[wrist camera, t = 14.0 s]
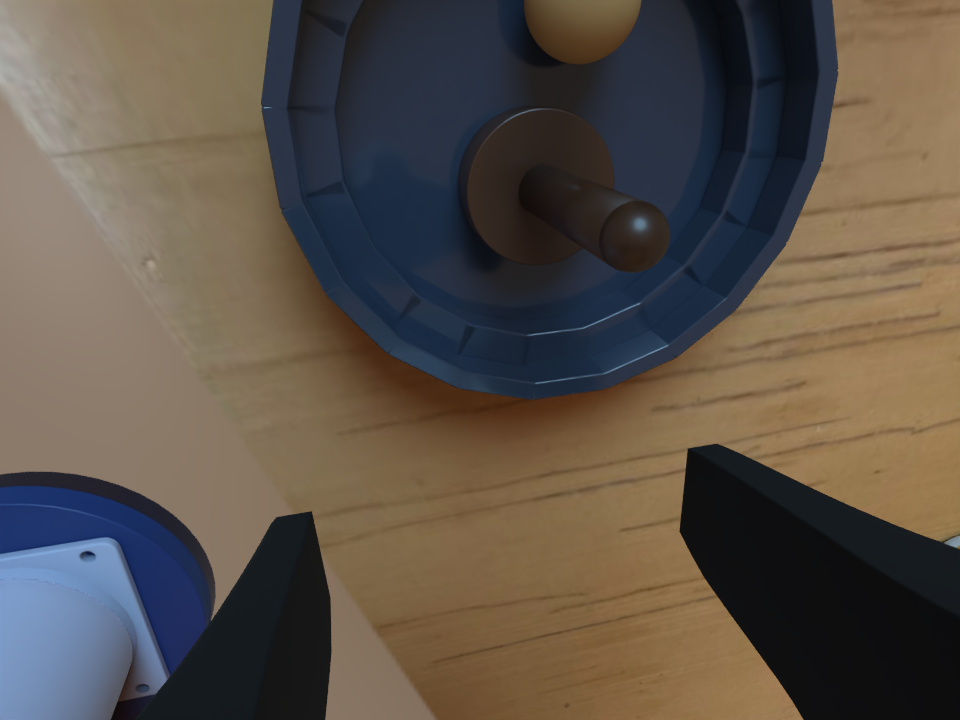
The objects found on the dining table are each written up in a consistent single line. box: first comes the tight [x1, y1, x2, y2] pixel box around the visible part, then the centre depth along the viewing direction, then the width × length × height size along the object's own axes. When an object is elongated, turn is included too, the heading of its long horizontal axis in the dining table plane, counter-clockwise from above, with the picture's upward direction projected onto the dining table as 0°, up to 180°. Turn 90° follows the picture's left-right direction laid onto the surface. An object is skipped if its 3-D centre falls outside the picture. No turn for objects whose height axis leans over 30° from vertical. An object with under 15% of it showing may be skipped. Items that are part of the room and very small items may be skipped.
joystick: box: [458, 106, 670, 273], centre depth 15 cm, size 4×4×8 cm
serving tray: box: [261, 0, 838, 400], centre depth 17 cm, size 15×15×3 cm
